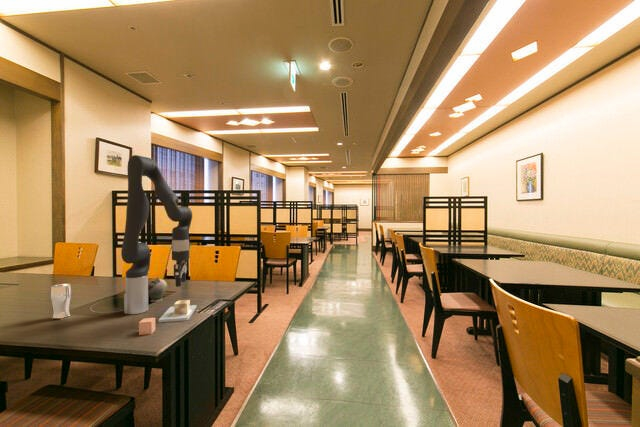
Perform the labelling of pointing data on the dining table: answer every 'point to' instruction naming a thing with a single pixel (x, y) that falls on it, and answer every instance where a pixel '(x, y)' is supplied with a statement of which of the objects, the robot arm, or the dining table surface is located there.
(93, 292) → the dining table surface
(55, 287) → the beer glass
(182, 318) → the build board
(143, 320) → the terracotta block
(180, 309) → the beech block
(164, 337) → the dining table surface
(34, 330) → the dining table surface
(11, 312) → the dining table surface
